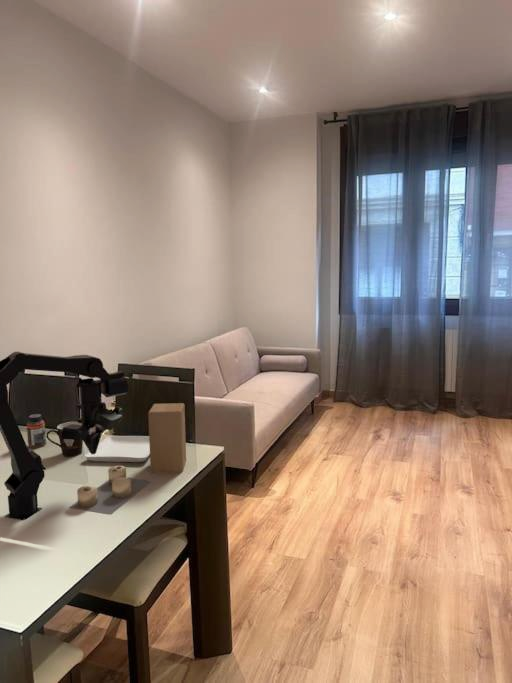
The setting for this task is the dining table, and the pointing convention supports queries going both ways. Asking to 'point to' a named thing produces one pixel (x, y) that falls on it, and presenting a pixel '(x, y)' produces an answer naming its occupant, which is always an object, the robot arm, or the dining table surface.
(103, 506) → the mat
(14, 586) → the dining table surface
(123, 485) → the plain puck
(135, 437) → the salad plate
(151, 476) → the dining table surface
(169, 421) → the wooden block
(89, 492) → the one dot puck
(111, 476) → the two dot puck
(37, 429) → the supplement bottle
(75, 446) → the coffee mug
